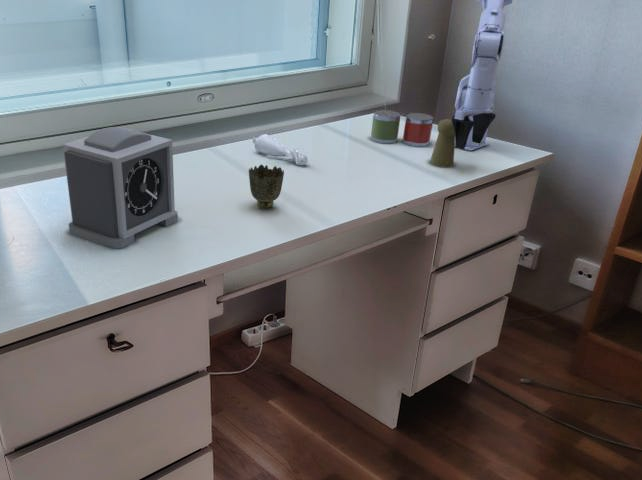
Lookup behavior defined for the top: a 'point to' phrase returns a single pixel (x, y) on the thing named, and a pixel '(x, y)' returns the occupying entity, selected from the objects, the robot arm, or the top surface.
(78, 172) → the alarm clock
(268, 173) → the cup
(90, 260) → the top surface
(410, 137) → the red tin
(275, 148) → the woman figurine
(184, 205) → the top surface
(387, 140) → the green tin
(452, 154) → the cork
